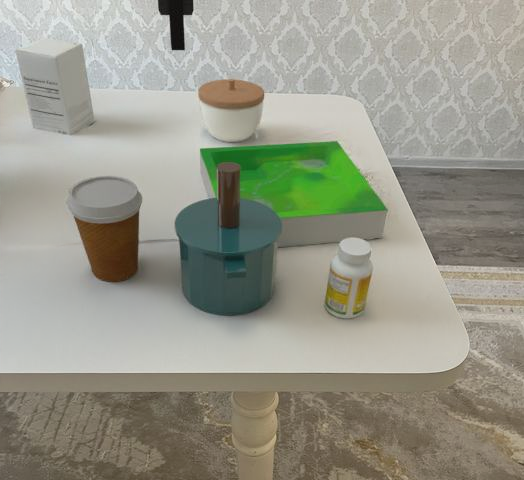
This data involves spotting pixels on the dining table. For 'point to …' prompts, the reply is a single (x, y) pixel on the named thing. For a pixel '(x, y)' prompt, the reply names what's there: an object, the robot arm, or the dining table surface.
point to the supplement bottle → (349, 278)
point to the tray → (303, 190)
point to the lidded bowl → (231, 108)
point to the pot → (228, 280)
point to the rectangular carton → (56, 85)
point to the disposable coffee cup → (108, 224)
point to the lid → (228, 220)
